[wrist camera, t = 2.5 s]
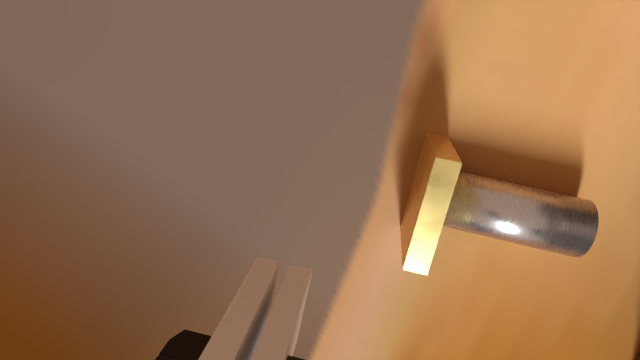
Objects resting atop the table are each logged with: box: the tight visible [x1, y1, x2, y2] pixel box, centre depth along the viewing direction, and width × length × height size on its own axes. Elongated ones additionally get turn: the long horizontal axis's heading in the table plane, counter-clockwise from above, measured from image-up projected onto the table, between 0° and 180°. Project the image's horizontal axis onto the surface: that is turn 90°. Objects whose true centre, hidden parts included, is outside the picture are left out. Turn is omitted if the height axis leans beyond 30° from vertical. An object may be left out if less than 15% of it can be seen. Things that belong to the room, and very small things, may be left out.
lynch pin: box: [400, 133, 598, 275], centre depth 27 cm, size 10×7×6 cm, turn 79°
